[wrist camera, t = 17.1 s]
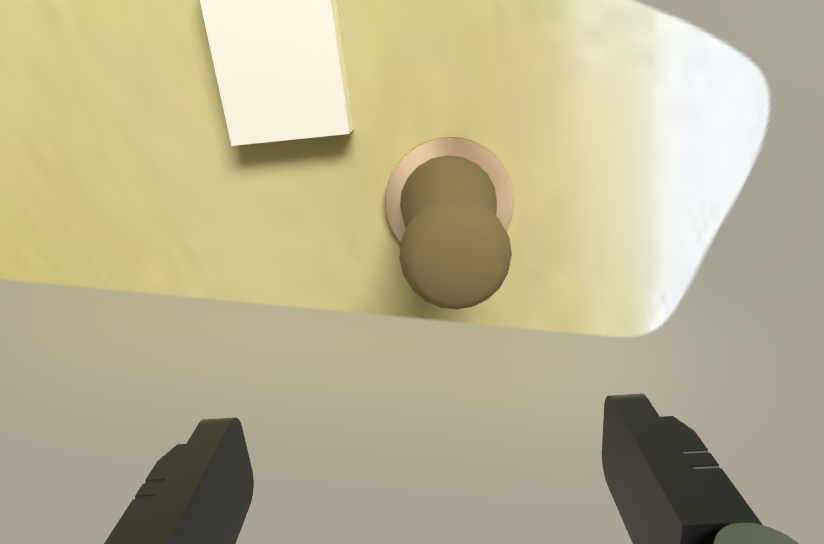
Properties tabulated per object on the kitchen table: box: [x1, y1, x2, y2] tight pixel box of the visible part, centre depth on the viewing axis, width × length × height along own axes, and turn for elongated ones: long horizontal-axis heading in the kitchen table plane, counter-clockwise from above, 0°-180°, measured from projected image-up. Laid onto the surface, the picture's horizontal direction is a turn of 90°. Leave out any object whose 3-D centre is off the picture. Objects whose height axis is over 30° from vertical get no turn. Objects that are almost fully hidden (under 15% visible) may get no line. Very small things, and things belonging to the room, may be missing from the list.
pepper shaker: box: [400, 155, 512, 309], centre depth 30 cm, size 6×6×11 cm
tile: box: [200, 0, 353, 146], centre depth 32 cm, size 7×2×9 cm
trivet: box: [385, 137, 514, 242], centre depth 35 cm, size 8×8×1 cm
